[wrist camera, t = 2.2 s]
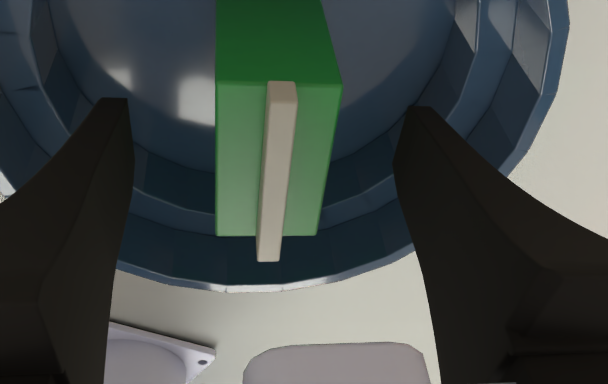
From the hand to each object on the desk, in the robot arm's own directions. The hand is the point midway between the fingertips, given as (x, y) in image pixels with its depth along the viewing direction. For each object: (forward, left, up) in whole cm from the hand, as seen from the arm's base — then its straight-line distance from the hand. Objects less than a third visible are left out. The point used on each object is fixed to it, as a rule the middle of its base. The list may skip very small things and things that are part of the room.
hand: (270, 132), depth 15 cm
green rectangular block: (0, 0, -5) cm, 5 cm away
